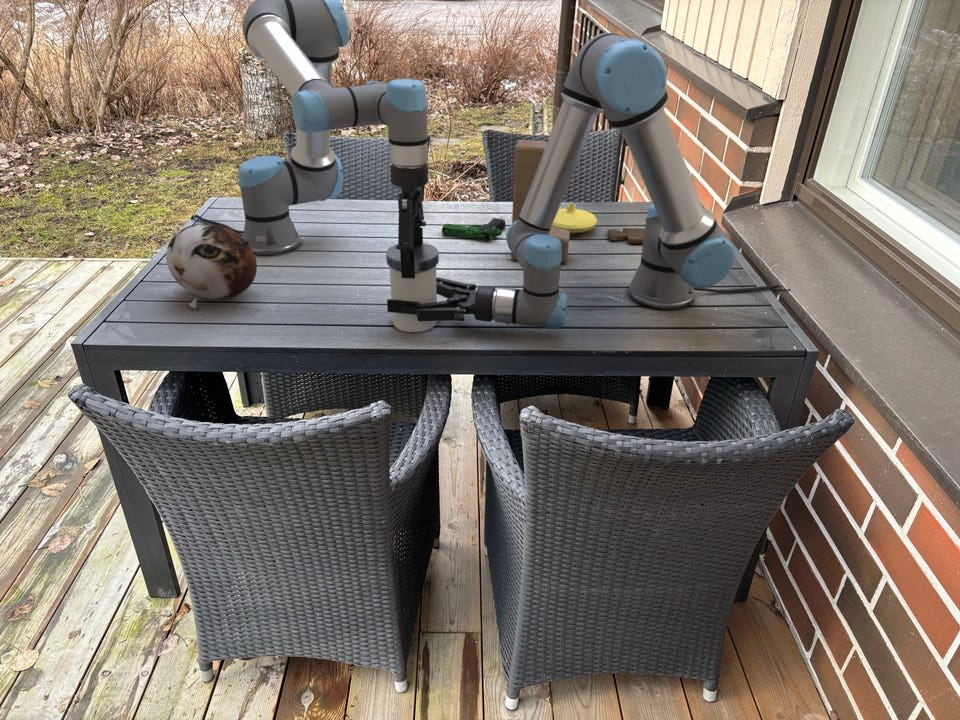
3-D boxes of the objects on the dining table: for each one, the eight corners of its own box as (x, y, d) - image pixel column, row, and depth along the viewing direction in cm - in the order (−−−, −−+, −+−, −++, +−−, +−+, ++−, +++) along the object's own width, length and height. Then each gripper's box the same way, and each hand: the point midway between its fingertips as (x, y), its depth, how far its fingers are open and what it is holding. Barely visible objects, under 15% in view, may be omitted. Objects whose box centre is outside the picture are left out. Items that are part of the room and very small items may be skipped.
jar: (394, 333, 155) (390, 265, 146) (391, 313, 163) (387, 247, 155) (439, 330, 156) (438, 262, 148) (434, 310, 164) (432, 245, 156)
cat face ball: (130, 285, 161) (164, 203, 163) (192, 308, 177) (221, 233, 178) (195, 307, 151) (229, 220, 152) (254, 330, 166) (285, 250, 168)
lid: (442, 270, 148) (442, 260, 147) (388, 273, 147) (387, 263, 145) (435, 250, 158) (435, 240, 157) (384, 253, 156) (384, 243, 155)
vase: (559, 216, 220) (561, 193, 217) (605, 227, 212) (608, 204, 209) (532, 230, 209) (533, 207, 206) (580, 242, 201) (582, 218, 198)
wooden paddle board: (702, 246, 201) (693, 234, 209) (703, 241, 200) (694, 228, 208) (610, 243, 201) (606, 231, 210) (611, 237, 200) (606, 225, 209)
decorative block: (567, 264, 188) (576, 149, 173) (510, 260, 190) (514, 146, 174) (568, 253, 194) (577, 141, 179) (513, 250, 196) (517, 138, 181)
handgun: (511, 219, 210) (493, 234, 198) (511, 228, 211) (492, 244, 199) (461, 212, 215) (440, 226, 203) (461, 221, 217) (440, 236, 204)
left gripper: (400, 148, 152) (404, 245, 163) (378, 180, 132) (384, 288, 143) (435, 149, 151) (437, 246, 162) (418, 181, 131) (422, 290, 142)
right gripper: (484, 345, 146) (380, 334, 149) (502, 298, 165) (409, 289, 168) (485, 312, 142) (378, 301, 146) (503, 268, 161) (408, 259, 165)
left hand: (412, 266), depth 153 cm, fingers closed on lid, 11 cm apart
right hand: (395, 295), depth 157 cm, fingers closed on jar, 10 cm apart
